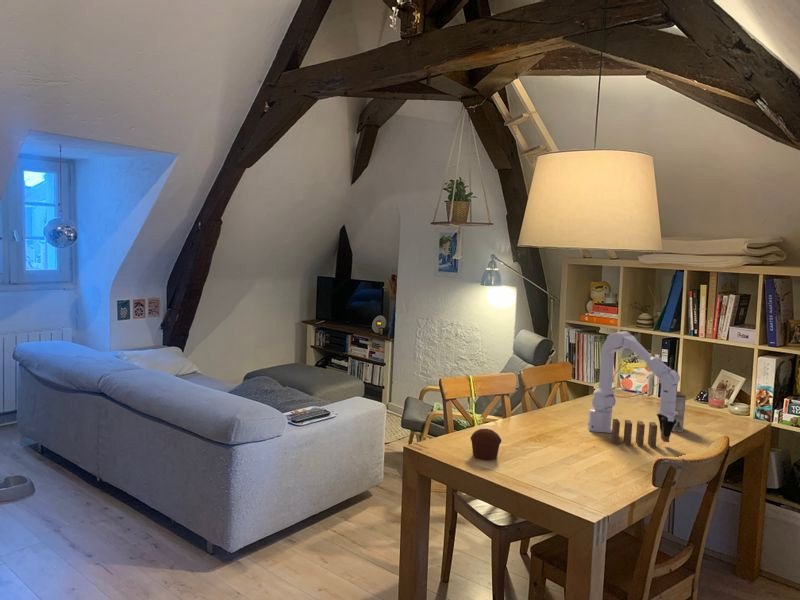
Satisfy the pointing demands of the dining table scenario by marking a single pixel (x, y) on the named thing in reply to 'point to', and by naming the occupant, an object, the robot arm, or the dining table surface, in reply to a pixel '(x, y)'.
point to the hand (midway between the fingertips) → (665, 434)
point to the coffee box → (679, 411)
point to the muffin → (485, 444)
